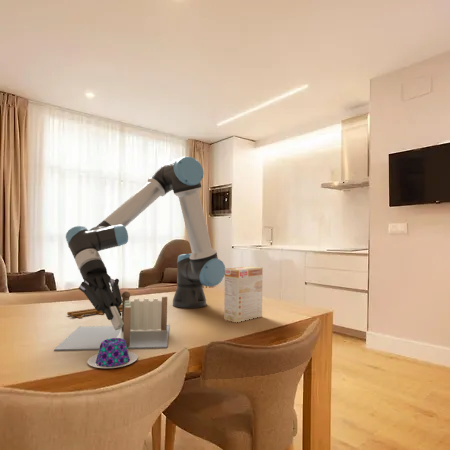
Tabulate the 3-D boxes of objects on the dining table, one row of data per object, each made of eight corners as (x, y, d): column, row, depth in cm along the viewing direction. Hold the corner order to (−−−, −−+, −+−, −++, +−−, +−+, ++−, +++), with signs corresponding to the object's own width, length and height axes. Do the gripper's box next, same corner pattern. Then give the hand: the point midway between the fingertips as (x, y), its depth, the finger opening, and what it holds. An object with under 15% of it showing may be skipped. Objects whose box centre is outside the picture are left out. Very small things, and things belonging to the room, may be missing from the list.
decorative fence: (64, 316, 133) (74, 320, 126) (65, 311, 133) (75, 315, 126) (124, 307, 150) (135, 311, 143) (124, 302, 150) (135, 306, 143)
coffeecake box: (249, 313, 139) (250, 265, 140) (262, 316, 134) (263, 267, 135) (223, 319, 129) (224, 267, 129) (236, 323, 124) (237, 269, 124)
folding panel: (122, 331, 108) (123, 298, 109) (128, 330, 109) (129, 298, 109) (123, 346, 94) (124, 308, 94) (130, 345, 94) (131, 308, 95)
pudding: (76, 364, 83) (77, 342, 84) (115, 350, 94) (116, 331, 94) (109, 375, 77) (110, 352, 77) (147, 359, 87) (148, 338, 88)
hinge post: (129, 331, 112) (130, 290, 112) (128, 333, 109) (129, 292, 109) (121, 331, 111) (122, 290, 112) (120, 333, 109) (121, 292, 109)
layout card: (169, 326, 118) (169, 324, 118) (167, 347, 96) (167, 346, 96) (79, 327, 114) (79, 326, 114) (54, 350, 92) (54, 349, 92)
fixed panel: (166, 330, 113) (167, 296, 113) (166, 332, 111) (167, 297, 111) (130, 331, 111) (131, 296, 112) (129, 333, 109) (130, 297, 110)
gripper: (75, 259, 104) (104, 324, 92) (114, 257, 114) (144, 315, 103) (66, 275, 107) (93, 339, 96) (105, 272, 117) (133, 330, 106)
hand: (119, 327), depth 99 cm, fingers closed
